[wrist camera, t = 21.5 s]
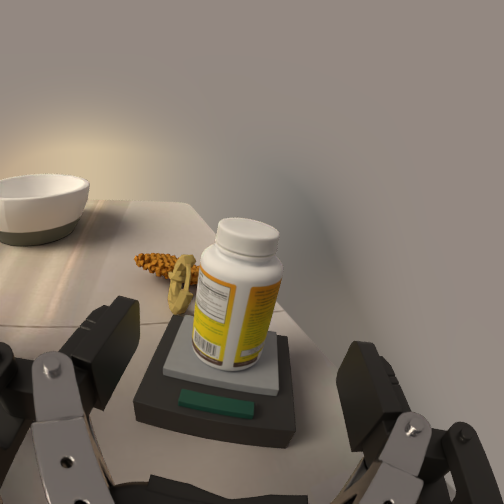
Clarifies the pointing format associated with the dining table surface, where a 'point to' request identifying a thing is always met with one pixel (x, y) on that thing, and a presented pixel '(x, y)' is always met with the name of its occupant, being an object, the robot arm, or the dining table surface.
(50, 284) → the dining table surface
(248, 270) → the supplement bottle
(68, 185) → the bowl
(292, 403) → the scale
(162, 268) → the ornament
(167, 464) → the dining table surface
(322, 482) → the dining table surface
